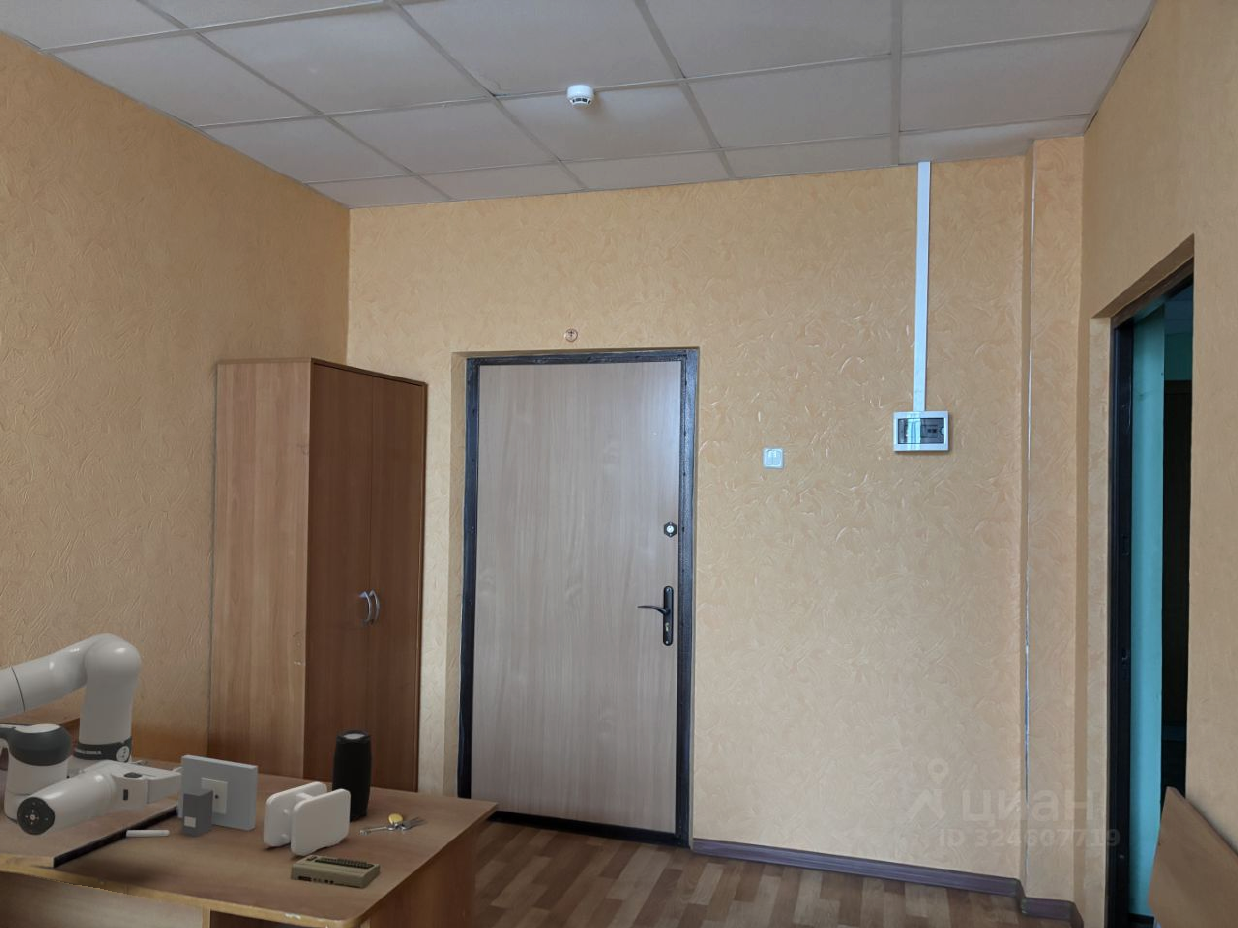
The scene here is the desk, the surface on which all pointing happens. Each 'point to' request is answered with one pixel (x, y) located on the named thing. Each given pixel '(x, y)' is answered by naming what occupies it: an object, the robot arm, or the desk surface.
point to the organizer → (307, 818)
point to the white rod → (147, 833)
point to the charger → (197, 812)
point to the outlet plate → (223, 789)
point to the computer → (335, 871)
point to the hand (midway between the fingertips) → (162, 767)
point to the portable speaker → (353, 769)
